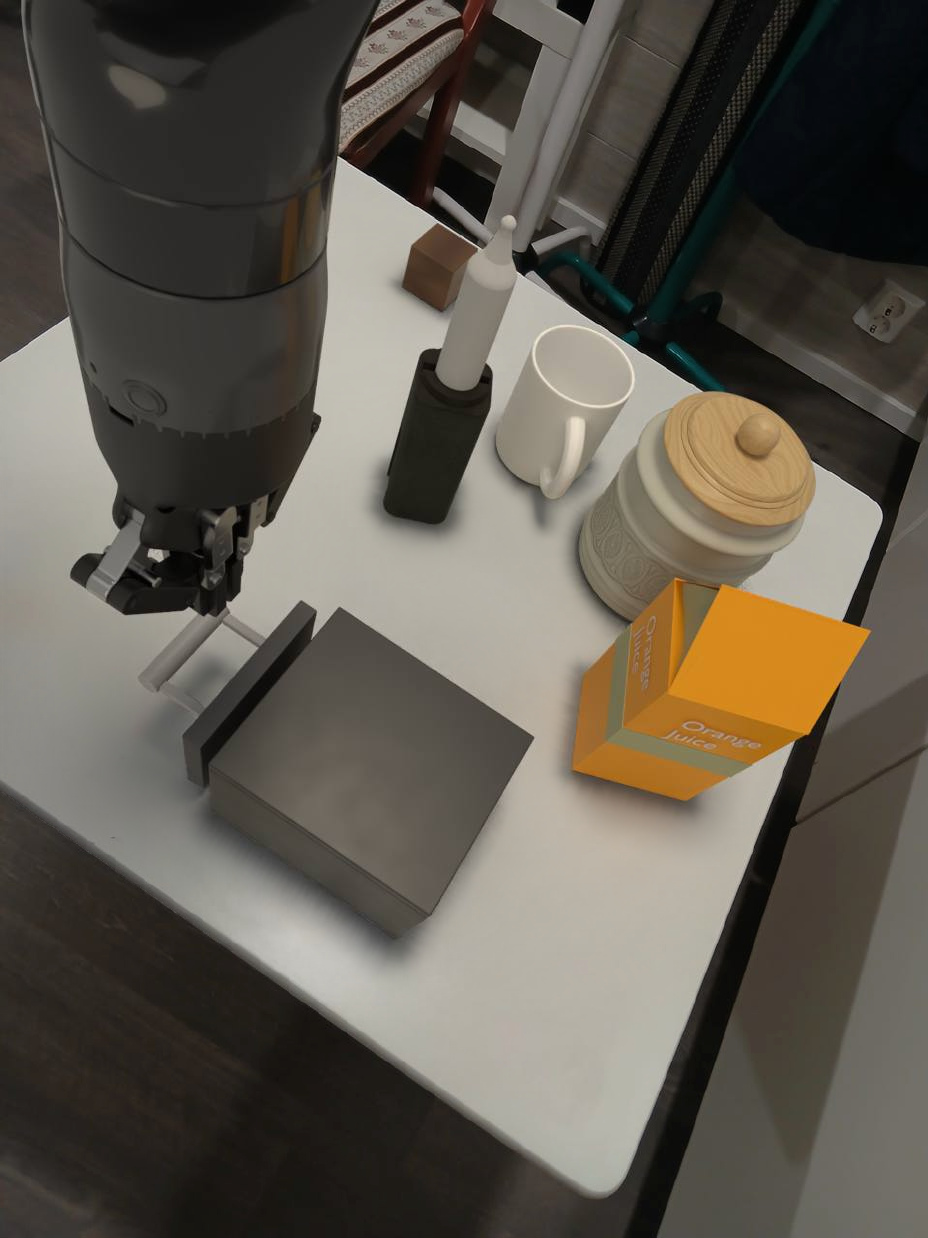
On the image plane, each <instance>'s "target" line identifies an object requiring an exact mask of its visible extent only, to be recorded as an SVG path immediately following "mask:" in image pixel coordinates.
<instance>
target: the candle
mask: <svg viewBox="0 0 928 1238" xmlns="http://www.w3.org/2000/svg"><path fill="white" fill-rule="evenodd" d="M516 228H517V220H516V218H515V217H514V216H513V215H512V214H508V215H507V214H506V215H505V216H503V217H502V218H501V220H500V227H499V229H498V231H496V232H495V234H494V236H492V238H491V239H490V241H489V242H488V243H487V245H485V247H484V248H482V249H480V250H478V252H477V253H476V254H474V255H473V256H472V257H471V258H470V260H469V261H468V264H467V268H466V271H465V274H464V278H463V281H462V284H461V287H460V291H459V294H458V297H457V298H456V299H455V300H456V301H455V304H454V308H453V311H452V314H451V317H450V320H449V323H448V327H447V330H446V334H445V337H444V341H443V344H442V346H441V347H440V348H435V347H434V348H433V347H432V348H427V349H425V350H423V351H422V352H421V353H420V354H419V356H418V360H417V364H416V367H415V371H414V375H413V377H412V382H411V385H410V389H409V393H408V396H407V400H406V404H405V407H404V411H403V414H402V418H401V421H400V425H399V430H398V432H397V436H396V439H395V444H394V447H393V451H392V454H391V457H390V461H389V465H388V469H387V472H386V476H387V477H388V481H387V486H386V489H385V492H384V496H383V500H382V506H383V508H384V510H385V512H386V513H388V514H389V515H390V516H393V517H395V518H401V519H406V520H411V521H415V522H421V523H425V524H430V525H438V524H441V523H442V522H444V521H445V520H446V519H447V516H448V513H449V511H450V509H451V507H452V504H453V501H454V499H455V496H456V494H457V492H458V490H459V487H460V484H461V482H462V479H463V477H464V474H465V472H466V469H467V467H468V465H469V462H470V460H471V457H472V455H473V453H474V450H475V448H476V445H477V443H478V440H479V438H480V435H481V433H482V430H483V428H484V426H485V423H486V421H487V418H488V416H489V413H490V412H491V411H490V410H491V407H492V396H493V383H494V382H493V381H494V372H493V369H492V367H491V366H490V365H489V364H488V363H487V361H488V358H489V355H490V352H491V350H492V347H493V345H494V342H495V339H496V337H497V334H498V331H499V329H500V326H501V323H502V322H503V318H504V315H505V312H506V310H507V307H508V305H509V302H510V299H511V298H512V294H513V291H514V289H515V286H516V283H517V279H518V272H517V268H516V265H515V261H514V259H513V231H514V230H515V229H516Z"/></svg>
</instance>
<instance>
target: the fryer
mask: <svg viewBox="0 0 928 1238" xmlns="http://www.w3.org/2000/svg"><path fill="white" fill-rule="evenodd" d="M534 740H535V736H534V735H532V734H531V733H530V732H529V731H527V730H525V729H523V728H522V727H520V726H519V725H517V724H516V723H514V722H513V721H512V720H510V719H508V718H507V717H506V716H504V715H503V714H501V713H500V712H498V711H497V710H495V709H494V708H492V707H490V706H489V705H488V704H486V703H484V702H483V701H482V700H480V699H478V698H477V697H476V696H474V695H472V694H471V693H470V692H468V691H467V690H465V689H463V688H462V687H460V686H459V685H458V684H456V683H454V682H453V681H452V680H450V679H449V678H447V677H446V676H444V675H443V674H441V673H440V672H438V671H437V670H436V669H434V668H432V667H431V666H429V665H428V664H426V663H425V662H423V661H422V660H420V659H419V658H418V657H416V656H415V655H413V654H412V653H410V652H408V651H407V650H406V649H404V648H403V647H401V646H400V645H398V644H396V643H395V642H394V641H392V640H391V639H389V638H387V637H386V636H384V635H383V634H381V632H379V631H377V630H376V629H375V628H372V627H371V626H370V625H368V624H367V623H365V622H364V621H362V620H361V619H359V618H358V617H356V616H355V615H353V614H352V613H350V612H349V611H347V610H345V608H343V607H341V606H338V608H336V609H335V610H334V612H333V613H332V614H331V616H330V617H329V618H328V619H327V620H326V622H325V623H324V624H323V625H322V626H321V628H320V629H319V630H318V631H317V632H316V634H315V635H314V636H312V639H311V641H310V642H309V643H308V645H307V646H306V647H305V648H304V649H303V651H302V652H301V653H300V654H299V655H298V657H297V658H296V659H295V660H294V661H293V663H292V664H291V665H290V666H289V667H288V669H287V670H286V671H285V672H284V673H283V674H282V676H281V677H280V678H279V679H278V680H277V682H276V683H275V684H274V685H273V686H272V688H271V689H270V690H269V691H268V692H267V694H266V695H265V696H264V697H263V698H262V700H261V701H260V702H259V703H258V704H257V706H256V707H255V708H254V709H253V710H252V712H251V713H250V714H249V715H248V716H247V718H246V719H245V720H244V721H243V722H242V724H241V725H240V726H239V727H238V728H237V730H236V731H235V732H234V733H233V734H232V736H231V737H230V738H229V739H228V740H227V742H226V743H225V744H224V745H223V746H222V748H221V749H220V750H219V751H218V752H217V754H216V755H215V756H214V757H213V758H212V760H211V761H210V762H209V779H210V783H209V793H210V808H211V809H210V810H211V813H213V814H214V815H215V816H217V817H218V818H220V819H221V820H223V821H224V822H226V824H228V825H230V826H231V827H233V829H235V830H237V831H238V832H240V833H241V834H242V835H244V836H246V837H247V838H249V839H250V840H251V841H253V842H254V843H256V844H257V845H259V846H260V847H261V848H263V849H264V850H266V851H267V852H268V853H270V854H272V855H273V856H274V857H276V858H277V859H279V860H280V861H282V862H283V863H284V864H286V865H288V866H289V867H290V868H292V869H293V870H295V871H296V872H298V873H299V874H300V875H302V876H304V877H305V878H306V879H308V880H309V881H311V882H312V883H314V884H315V885H317V886H318V887H319V888H320V889H322V890H324V891H325V892H327V893H328V894H329V895H331V896H332V897H334V898H335V899H337V900H338V901H340V903H343V904H344V905H346V906H347V907H348V908H350V909H351V910H353V911H354V912H355V913H357V914H358V915H360V916H361V917H363V918H364V919H366V920H367V921H369V922H370V923H371V924H373V926H376V927H377V928H379V929H380V930H382V931H383V932H384V933H385V934H387V935H389V936H390V937H392V938H393V939H395V940H397V939H399V938H400V937H403V936H404V935H405V934H407V933H408V932H409V931H412V930H413V929H414V928H415V927H417V926H418V925H420V924H421V923H423V922H424V921H425V920H427V919H428V918H430V917H431V916H432V915H433V913H434V911H436V910H435V909H436V908H437V906H438V905H439V903H440V901H441V899H442V897H443V896H444V894H445V892H446V891H447V889H448V887H449V885H450V884H451V882H452V880H453V879H454V877H455V875H456V874H457V873H458V870H459V869H460V867H461V865H462V864H463V862H464V860H465V858H466V857H467V855H468V853H469V851H470V850H471V848H472V846H473V844H474V843H475V841H476V839H477V838H478V836H479V834H480V833H481V831H482V830H483V828H484V826H485V824H486V822H487V820H488V819H489V817H490V815H491V814H492V812H493V810H494V809H495V807H496V805H497V803H498V801H499V800H500V798H501V796H502V795H503V793H504V792H505V789H506V788H507V786H508V784H509V782H510V781H511V779H512V778H513V776H514V774H515V772H516V771H517V769H518V767H519V766H520V764H521V762H522V760H523V758H524V757H525V755H526V754H527V752H528V750H529V748H530V747H531V745H532V743H533V742H534Z"/></svg>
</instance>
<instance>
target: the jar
mask: <svg viewBox="0 0 928 1238" xmlns="http://www.w3.org/2000/svg"><path fill="white" fill-rule="evenodd" d="M816 480H817V479H816V472H815V467H814V465H813V461H812V459H811V457H810V454H809V453H808V451H807V449H806V447H805V445H804V444H803V442H802V441H801V439H800V438H799V437H798V435H797V433H796V432H795V431H794V430H793V429H792V427H791V426H790V425H789V423H787V422H786V421H785V420H784V419H783V418H782V417H781V416H779V415H778V414H777V413H776V412H774V411H773V410H772V409H769V408H768V407H767V406H765V405H763V404H761V403H759V402H757V401H755V400H752V399H749V398H747V397H744V396H742V395H738V394H735V393H729V392H724V391H716V390H715V391H711V390H710V391H702V392H696V393H692V394H690V395H688V396H685V397H683V398H682V399H681V400H679V401H678V402H677V403H676V404H674V405H673V407H671V408H667V409H665V410H663V411H661V412H659V413H657V414H656V415H655V416H654V417H653V418H651V419H650V420H649V421H648V422H647V423H646V424H645V426H644V427H643V429H642V430H641V433H640V435H639V437H638V440H637V444H636V445H635V446H633V447H632V448H631V449H630V450H629V451H628V452H627V453H626V455H625V457H624V458H623V459H622V462H621V463H620V466H619V468H618V471H617V472H616V473H615V475H614V477H613V478H612V479H611V481H610V483H609V484H608V486H607V487H606V489H605V490H604V492H603V493H601V494H600V496H598V498H597V499H596V500H595V501H594V502H593V504H592V505H591V507H590V508H589V510H588V512H587V514H586V516H585V518H584V521H583V523H582V527H581V530H580V534H579V539H578V556H579V562H580V565H581V568H582V571H583V573H584V576H585V578H586V580H587V582H588V584H589V585H590V586H591V588H592V590H593V591H594V593H595V594H596V595H597V596H598V597H599V598H600V599H601V601H603V602H604V604H606V605H607V606H608V607H609V608H610V609H612V610H613V611H614V612H615V613H617V614H618V615H620V616H621V617H624V618H625V619H627V620H629V621H631V623H633V622H634V621H635V620H636V619H637V618H638V617H639V616H640V615H641V614H642V613H643V611H644V610H645V609H646V608H647V607H648V606H649V605H650V604H651V603H652V602H653V601H654V600H655V599H656V598H657V597H658V596H659V594H660V593H661V592H662V591H663V590H664V589H665V588H666V587H667V586H668V585H669V584H670V583H671V582H672V581H673V580H674V579H675V578H677V579H680V580H684V581H687V582H693V583H699V584H705V585H712V586H718V587H721V586H722V584H724V585H727V586H730V587H734V588H737V589H739V587H740V586H741V585H742V584H744V582H746V581H747V580H748V579H749V578H750V577H752V576H754V575H756V574H757V573H759V572H760V571H761V570H762V569H763V568H764V567H765V566H767V564H768V563H769V562H770V561H771V560H772V557H773V556H774V554H775V553H777V552H780V551H782V550H783V549H785V548H786V547H788V546H789V545H790V544H791V543H792V542H793V541H794V540H795V539H796V537H797V536H798V535H799V533H800V532H801V529H802V527H803V526H804V523H805V518H806V511H808V509H809V508H810V506H811V505H812V503H813V500H814V498H815V493H816V486H817V481H816Z"/></svg>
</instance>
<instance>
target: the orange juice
mask: <svg viewBox="0 0 928 1238" xmlns="http://www.w3.org/2000/svg"><path fill="white" fill-rule="evenodd" d="M871 632H872V630H870V629H867V628H865V627H861V626H857V625H854V624H852V623H848V622H845V621H842V620H838V619H835V618H832V617H829V616H826V615H823V614H819V613H816V612H813V611H809V610H806V609H803V608H801V607H797V606H794V605H791V604H788V603H785V602H781V601H778V600H775V599H771V598H768V597H765V596H762V595H759V594H756V593H752V592H749V591H746V590H743V589H740V588H734V587H730V586H727V585H724V584H722V586H721V587H718V586H712V585H705V584H699V583H693V582H687V581H684V580H680V579H677V578H675V579H674V580H673V581H672V582H671V583H670V584H669V585H668V586H667V587H666V588H665V589H664V590H663V591H662V592H661V593H660V594H659V596H658V597H657V598H656V599H655V600H654V601H653V602H652V603H651V604H650V605H649V606H648V607H647V608H646V609H645V610H644V611H643V613H642V614H641V615H640V616H639V617H638V618H637V619H636V620H635V621H634V622H631V623H630V624H629V625H628V626H626V628H625V629H624V630H623V632H621V634H620V635H619V636H618V637H616V639H615V641H614V642H613V643H612V644H611V645H610V646H609V648H607V649H606V651H605V652H604V653H603V654H602V655H601V656H600V657H599V658H598V659H597V660H596V661H595V662H594V664H592V665H591V667H589V669H588V670H587V671H586V672H584V674H583V675H582V682H581V690H580V698H579V706H578V713H577V714H578V715H577V722H576V729H575V739H574V745H573V746H574V747H573V754H572V763H571V771H575V772H579V773H582V774H586V775H589V776H593V777H596V778H600V779H602V780H603V779H604V780H607V781H610V782H615V783H618V784H622V785H626V786H628V787H633V788H636V789H638V790H639V789H640V790H644V791H647V792H650V793H653V794H659V795H662V796H665V797H668V798H673V799H676V800H679V801H684V802H687V801H688V800H690V799H692V798H695V797H696V796H698V795H699V794H701V793H704V792H705V791H706V790H709V789H710V788H712V787H714V786H716V785H717V784H719V783H721V782H723V781H724V780H727V779H728V778H732V777H734V776H735V775H737V774H739V773H741V772H743V771H745V770H746V769H749V768H750V767H752V766H753V765H754V764H756V763H757V762H759V761H761V760H763V759H765V758H767V757H768V756H770V755H772V754H774V753H776V752H777V751H779V750H781V749H782V748H784V747H787V746H788V745H790V744H792V743H794V742H795V741H797V740H799V739H801V738H802V737H804V736H806V735H807V736H809V735H810V733H811V732H812V730H813V728H814V726H815V725H816V723H817V721H818V719H820V716H821V715H822V713H823V711H824V710H825V708H826V707H827V704H828V703H829V702H830V700H831V698H832V696H833V695H834V693H835V691H836V690H837V688H838V687H839V685H840V683H841V681H842V680H843V678H844V676H845V675H846V673H847V672H848V670H849V668H850V667H851V665H852V663H853V662H854V660H855V658H857V656H858V653H859V652H860V650H861V649H862V647H863V645H864V644H865V642H866V641H867V638H868V637H869V635H870V633H871Z"/></svg>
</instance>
